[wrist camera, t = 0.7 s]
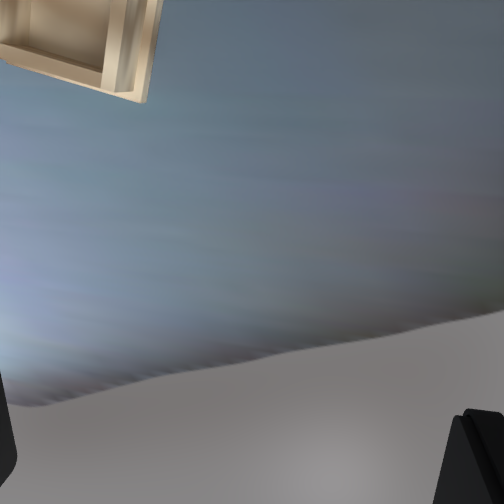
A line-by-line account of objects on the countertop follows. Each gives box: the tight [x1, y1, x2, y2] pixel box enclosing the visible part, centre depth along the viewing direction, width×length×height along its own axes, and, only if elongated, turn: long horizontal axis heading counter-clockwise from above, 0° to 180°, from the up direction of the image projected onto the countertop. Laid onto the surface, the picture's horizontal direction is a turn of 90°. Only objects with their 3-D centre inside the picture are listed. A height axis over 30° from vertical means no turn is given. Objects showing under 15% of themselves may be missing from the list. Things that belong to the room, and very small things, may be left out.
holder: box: [0, 0, 163, 103], centre depth 32 cm, size 11×11×5 cm
